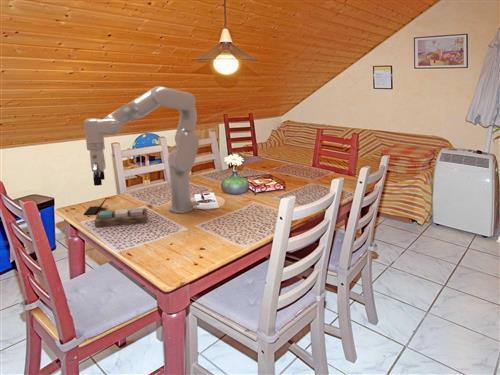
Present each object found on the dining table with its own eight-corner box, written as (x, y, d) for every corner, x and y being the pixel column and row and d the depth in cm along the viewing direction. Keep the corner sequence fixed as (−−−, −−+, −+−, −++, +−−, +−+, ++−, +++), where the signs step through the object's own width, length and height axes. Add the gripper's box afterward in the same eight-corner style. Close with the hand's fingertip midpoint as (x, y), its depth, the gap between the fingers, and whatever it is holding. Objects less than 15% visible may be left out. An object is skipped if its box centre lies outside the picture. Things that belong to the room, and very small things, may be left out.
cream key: (128, 213, 186) (127, 209, 185) (127, 217, 181) (127, 213, 180) (116, 214, 185) (115, 210, 184) (115, 218, 179) (114, 214, 179)
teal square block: (113, 214, 184) (112, 210, 184) (112, 219, 179) (111, 214, 178) (101, 215, 183) (100, 211, 182) (99, 220, 178) (98, 215, 177)
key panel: (146, 214, 192) (146, 208, 191) (146, 222, 181) (146, 216, 180) (98, 218, 186) (97, 211, 185) (95, 227, 175) (94, 220, 174)
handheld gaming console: (85, 205, 199) (95, 191, 198) (98, 212, 203) (108, 197, 201) (82, 216, 189) (93, 201, 188) (95, 222, 193) (106, 208, 191)
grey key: (143, 212, 188) (142, 207, 187) (142, 216, 182) (142, 211, 182) (131, 213, 186) (130, 208, 186) (130, 217, 181) (130, 212, 180)
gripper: (101, 149, 165) (105, 187, 169) (106, 142, 181) (110, 177, 186) (83, 149, 163) (87, 188, 168) (90, 143, 179) (93, 178, 184)
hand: (99, 182), depth 177 cm, fingers open, 9 cm apart
